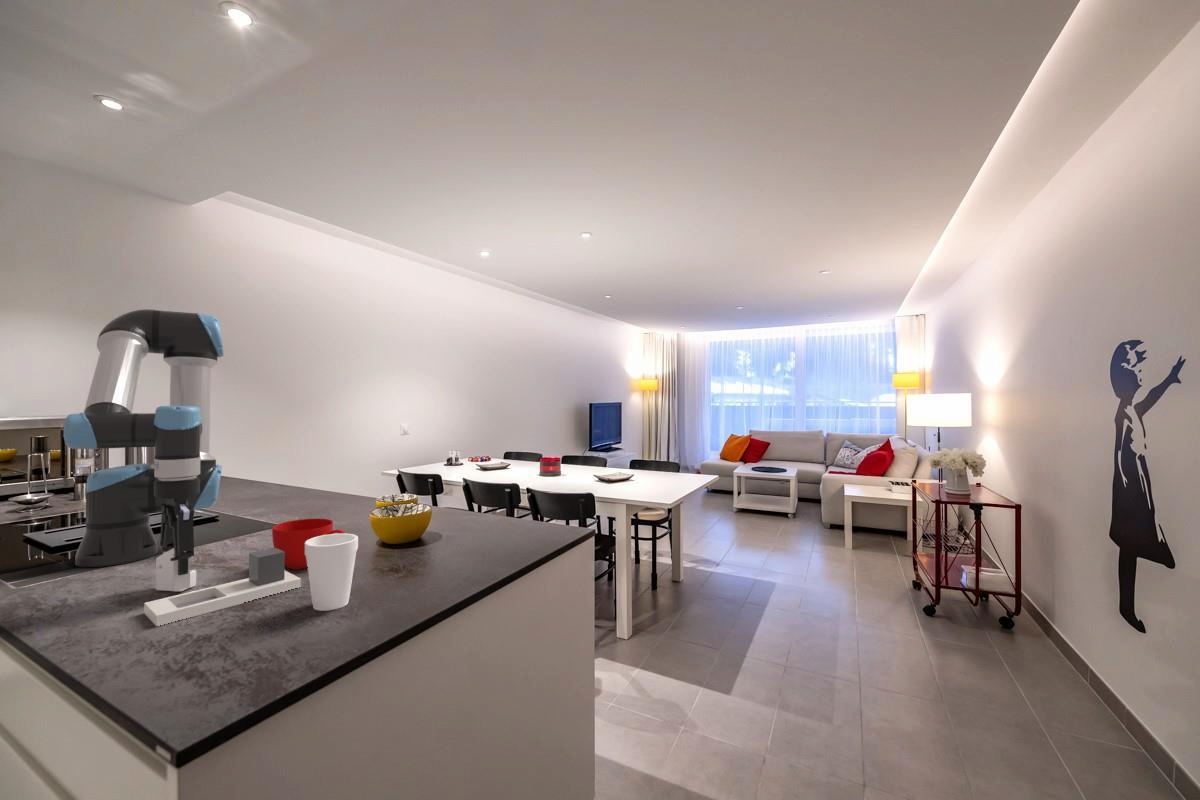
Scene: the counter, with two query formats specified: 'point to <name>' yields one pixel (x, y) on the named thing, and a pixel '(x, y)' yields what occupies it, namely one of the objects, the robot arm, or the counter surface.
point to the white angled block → (168, 572)
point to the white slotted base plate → (228, 590)
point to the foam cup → (331, 569)
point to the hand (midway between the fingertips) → (176, 584)
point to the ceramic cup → (299, 538)
